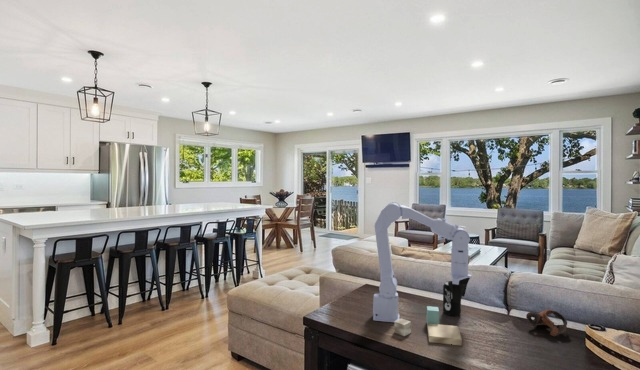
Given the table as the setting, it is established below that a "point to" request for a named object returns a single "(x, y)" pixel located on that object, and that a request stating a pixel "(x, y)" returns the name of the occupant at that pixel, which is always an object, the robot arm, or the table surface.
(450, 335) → the cream square slab
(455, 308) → the beverage can
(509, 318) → the table surface
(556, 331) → the rusty metal shackles
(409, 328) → the cream cube
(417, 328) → the table surface
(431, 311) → the teal block
